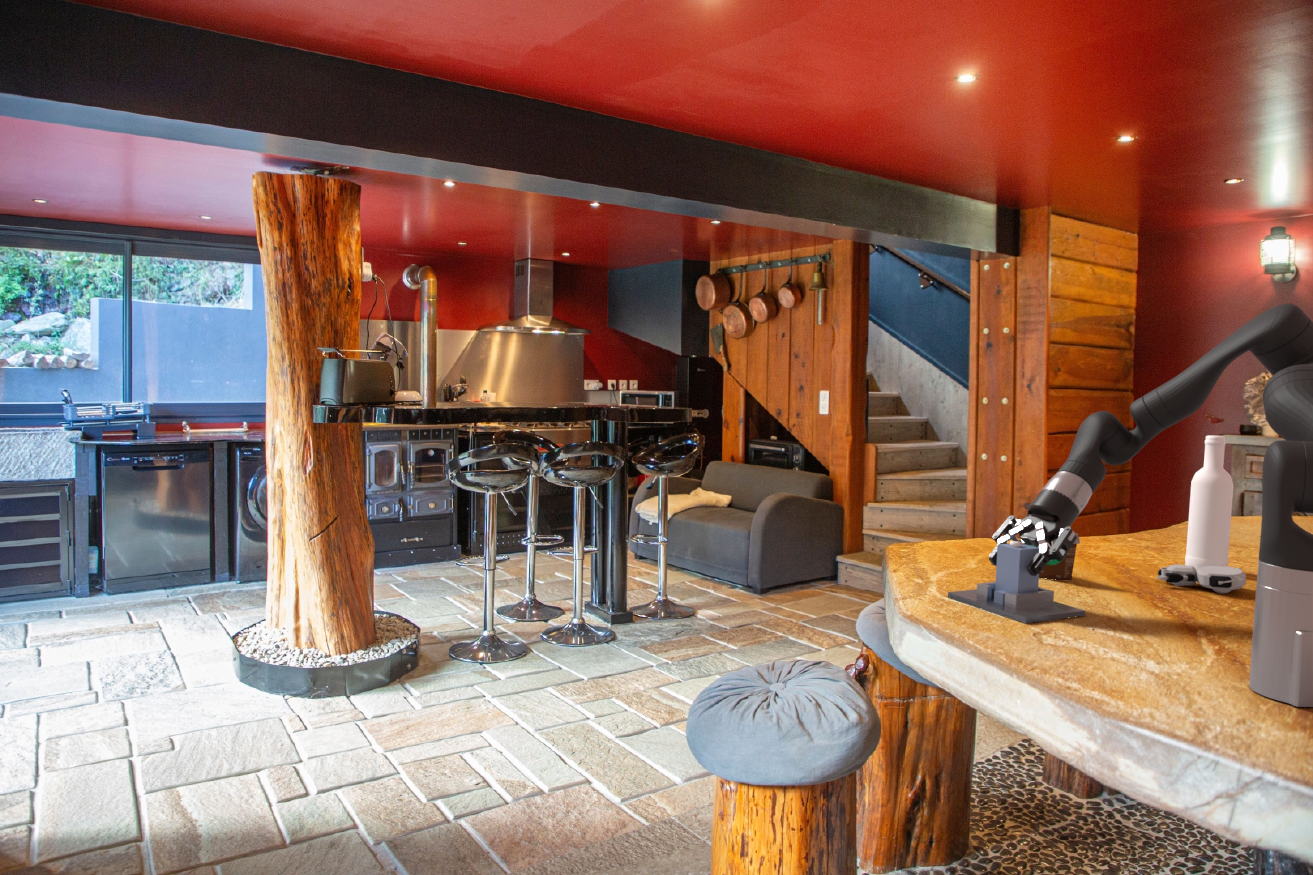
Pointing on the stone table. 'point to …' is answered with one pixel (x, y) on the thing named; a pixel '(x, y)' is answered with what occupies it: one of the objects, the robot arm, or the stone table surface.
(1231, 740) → the stone table surface
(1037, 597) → the plate
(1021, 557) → the block
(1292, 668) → the robot arm
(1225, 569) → the robot toy
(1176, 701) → the stone table surface
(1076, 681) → the stone table surface
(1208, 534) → the bottle
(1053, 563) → the food container
